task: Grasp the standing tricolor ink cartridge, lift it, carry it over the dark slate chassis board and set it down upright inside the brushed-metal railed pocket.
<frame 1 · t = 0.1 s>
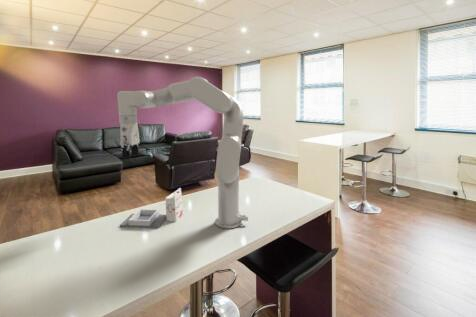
hand: (131, 157, 125), 31 cm above the breakfast bar, fingers open, 9 cm apart
ink cartridge box: (174, 218, 135), on the breakfast bar
chassis board: (144, 221, 130), on the breakfast bar
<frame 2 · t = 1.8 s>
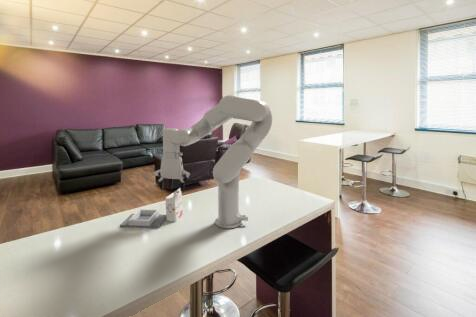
hand: (172, 189, 132), 15 cm above the breakfast bar, fingers open, 9 cm apart
nothing on the breakfast bar moved.
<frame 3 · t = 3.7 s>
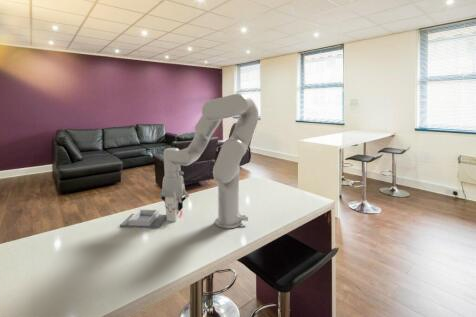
hand: (174, 209, 134), 5 cm above the breakfast bar, fingers closed on ink cartridge box, 5 cm apart
ink cartridge box: (174, 218, 135), on the breakfast bar, touching gripper
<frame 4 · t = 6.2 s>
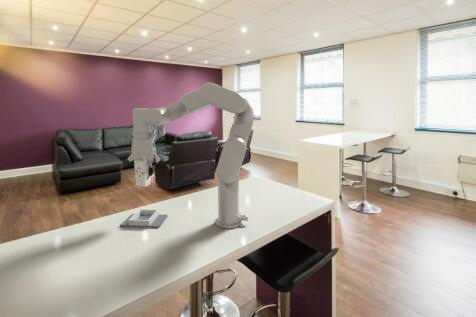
hand: (144, 174, 126), 23 cm above the breakfast bar, fingers closed on ink cartridge box, 5 cm apart
ink cartridge box: (145, 184, 127), point 18 cm above the breakfast bar, touching gripper
when the fingers open (7 cm above the breakfast bar, at t = 8.7 s): ink cartridge box drops 1 cm, resting on chassis board.
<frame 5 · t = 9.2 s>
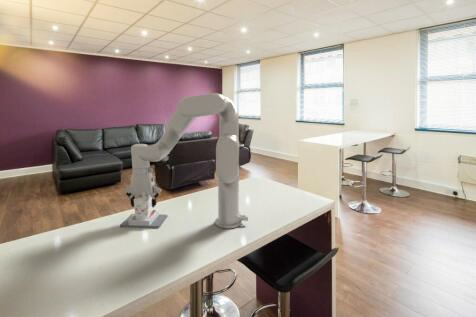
hand: (143, 206, 129), 8 cm above the breakfast bar, fingers open, 9 cm apart
ink cartridge box: (144, 220, 130), point 1 cm above the breakfast bar, touching chassis board
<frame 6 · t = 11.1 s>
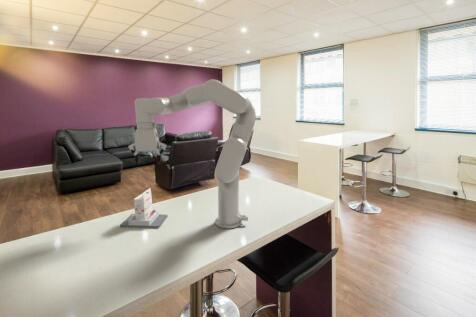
hand: (148, 163, 127), 28 cm above the breakfast bar, fingers open, 9 cm apart
nothing on the breakfast bar moved.
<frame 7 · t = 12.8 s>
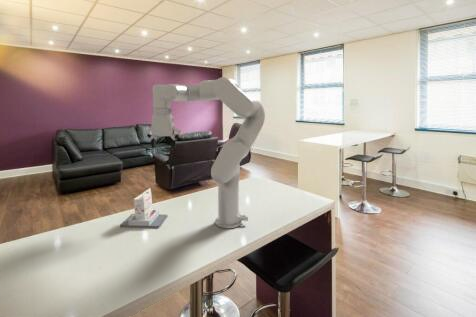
hand: (163, 147, 132), 34 cm above the breakfast bar, fingers open, 9 cm apart
nothing on the breakfast bar moved.
at the end: ink cartridge box 0.1 cm from the chassis board (horizontally); ink cartridge box tilted 0°; the gripper is holding nothing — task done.
